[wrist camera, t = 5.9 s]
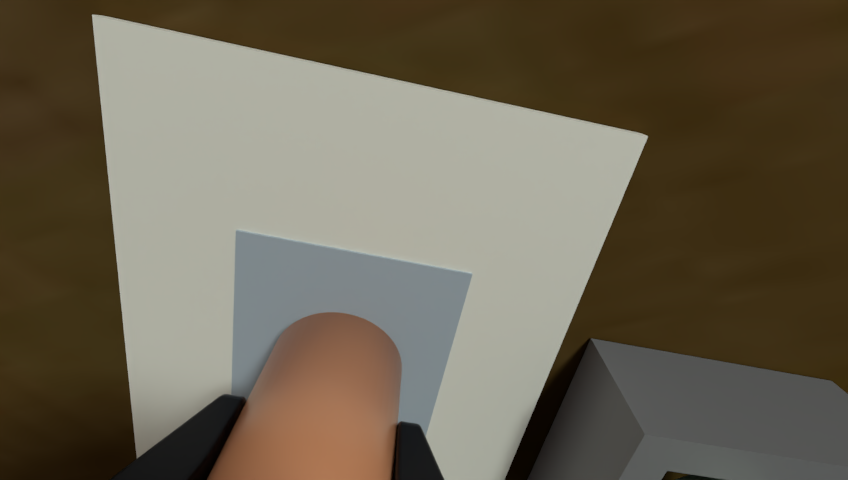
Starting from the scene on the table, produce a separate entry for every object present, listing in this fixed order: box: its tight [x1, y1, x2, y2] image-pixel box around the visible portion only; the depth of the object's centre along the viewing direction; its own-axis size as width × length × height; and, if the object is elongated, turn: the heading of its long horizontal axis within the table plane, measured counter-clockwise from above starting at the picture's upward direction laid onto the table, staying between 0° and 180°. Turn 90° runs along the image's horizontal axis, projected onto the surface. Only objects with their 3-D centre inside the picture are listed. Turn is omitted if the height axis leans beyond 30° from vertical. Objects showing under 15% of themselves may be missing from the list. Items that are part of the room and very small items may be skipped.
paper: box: [92, 15, 648, 480], centre depth 10 cm, size 10×12×1 cm
